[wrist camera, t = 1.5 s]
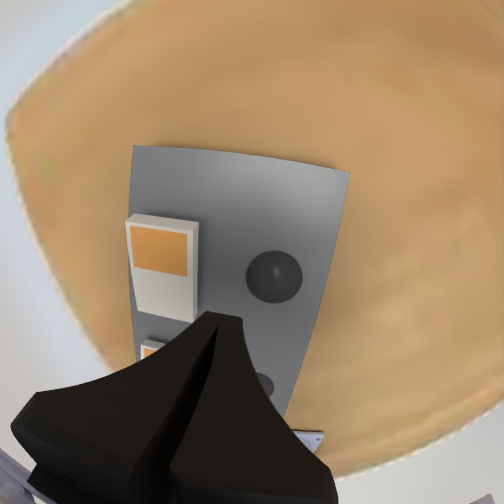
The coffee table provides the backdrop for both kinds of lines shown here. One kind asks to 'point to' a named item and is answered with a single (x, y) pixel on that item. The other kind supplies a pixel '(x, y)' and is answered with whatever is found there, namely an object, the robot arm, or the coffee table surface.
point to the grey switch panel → (246, 247)
